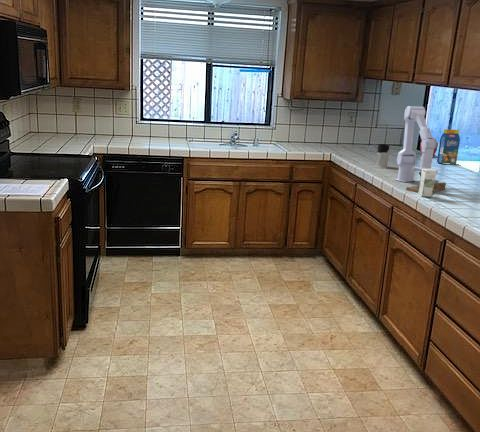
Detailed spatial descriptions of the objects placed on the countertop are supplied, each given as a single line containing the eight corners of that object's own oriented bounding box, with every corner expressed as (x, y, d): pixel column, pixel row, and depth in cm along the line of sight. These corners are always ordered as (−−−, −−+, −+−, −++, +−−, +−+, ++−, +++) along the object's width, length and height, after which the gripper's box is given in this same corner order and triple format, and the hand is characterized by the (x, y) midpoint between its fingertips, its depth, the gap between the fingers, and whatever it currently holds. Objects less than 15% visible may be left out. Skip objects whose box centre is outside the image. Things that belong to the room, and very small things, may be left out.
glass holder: (388, 168, 348) (390, 146, 344) (366, 166, 351) (369, 144, 347) (387, 166, 356) (390, 144, 352) (366, 164, 359) (368, 143, 355)
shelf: (429, 186, 297) (430, 179, 296) (444, 189, 290) (446, 182, 289) (406, 189, 284) (407, 182, 283) (421, 193, 277) (422, 186, 276)
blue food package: (456, 164, 378) (461, 130, 371) (441, 164, 376) (446, 129, 369) (451, 163, 384) (456, 129, 377) (436, 162, 382) (441, 128, 375)
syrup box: (428, 194, 275) (432, 168, 271) (432, 197, 269) (436, 170, 265) (417, 194, 275) (421, 167, 271) (421, 197, 269) (425, 169, 265)
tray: (429, 185, 291) (431, 176, 290) (437, 187, 287) (439, 178, 286) (417, 187, 284) (418, 178, 283) (425, 189, 280) (426, 180, 279)
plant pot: (438, 157, 410) (441, 142, 406) (431, 158, 400) (434, 143, 397) (423, 154, 418) (425, 140, 415) (415, 156, 409) (417, 141, 406)
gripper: (410, 158, 288) (407, 182, 291) (433, 163, 277) (430, 188, 280) (418, 158, 292) (415, 181, 295) (441, 162, 281) (437, 186, 284)
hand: (422, 184), depth 288 cm, fingers closed
